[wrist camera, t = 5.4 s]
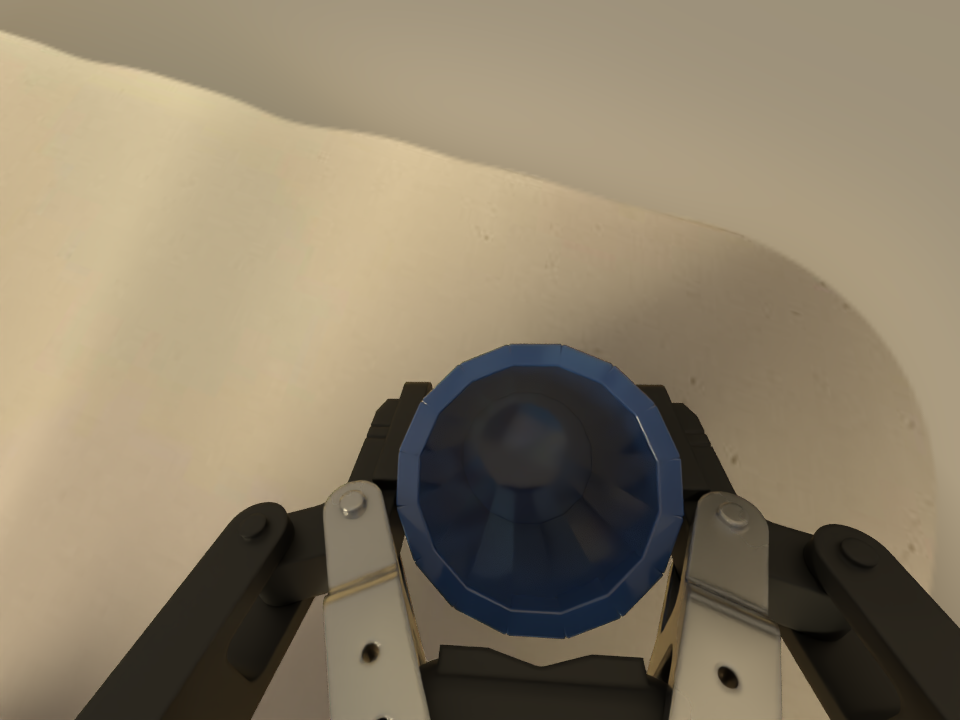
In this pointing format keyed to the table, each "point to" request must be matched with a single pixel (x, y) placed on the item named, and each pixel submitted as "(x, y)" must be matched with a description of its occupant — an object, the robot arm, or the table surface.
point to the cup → (539, 490)
